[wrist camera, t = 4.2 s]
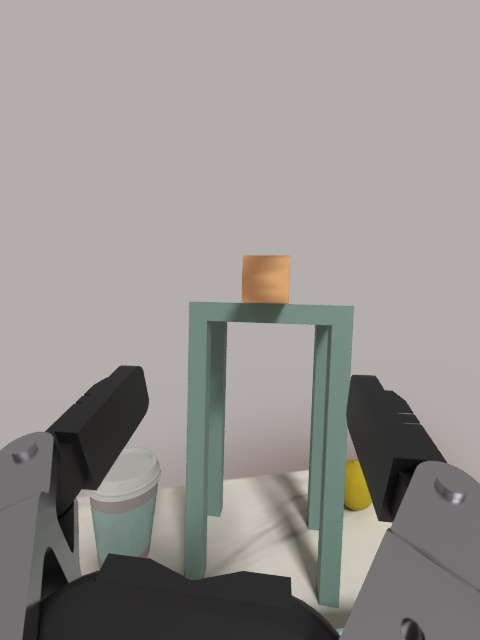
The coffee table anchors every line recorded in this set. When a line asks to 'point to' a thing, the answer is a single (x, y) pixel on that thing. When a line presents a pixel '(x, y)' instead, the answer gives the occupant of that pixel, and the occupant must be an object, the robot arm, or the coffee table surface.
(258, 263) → the block
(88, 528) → the coffee table surface
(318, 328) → the tall green stool
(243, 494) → the coffee table surface
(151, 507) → the coffee cup
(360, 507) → the lemon
